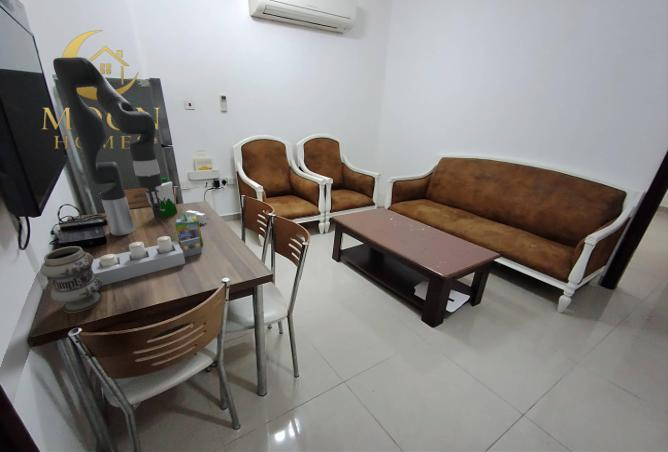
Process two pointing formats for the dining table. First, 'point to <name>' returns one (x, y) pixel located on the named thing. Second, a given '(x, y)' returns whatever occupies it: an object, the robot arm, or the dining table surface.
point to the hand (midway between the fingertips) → (158, 218)
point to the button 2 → (137, 250)
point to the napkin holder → (200, 215)
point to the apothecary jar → (72, 278)
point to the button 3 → (164, 244)
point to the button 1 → (108, 260)
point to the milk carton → (166, 199)
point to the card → (191, 247)
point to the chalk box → (188, 228)
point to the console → (139, 264)
